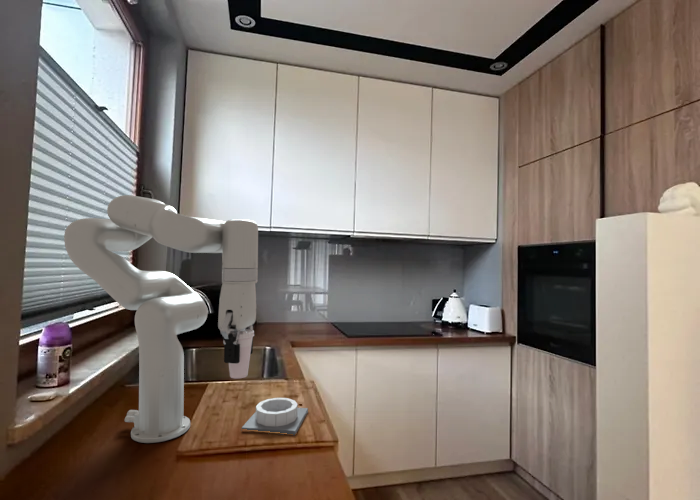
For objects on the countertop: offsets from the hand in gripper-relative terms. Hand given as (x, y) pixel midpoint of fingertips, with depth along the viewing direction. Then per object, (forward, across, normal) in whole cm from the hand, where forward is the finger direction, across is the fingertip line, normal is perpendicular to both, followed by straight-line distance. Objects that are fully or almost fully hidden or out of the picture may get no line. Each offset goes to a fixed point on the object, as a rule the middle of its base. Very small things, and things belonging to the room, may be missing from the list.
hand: (238, 357), depth 83 cm
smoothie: (+4, 0, 0) cm, 4 cm away
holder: (+19, -13, +4) cm, 24 cm away
